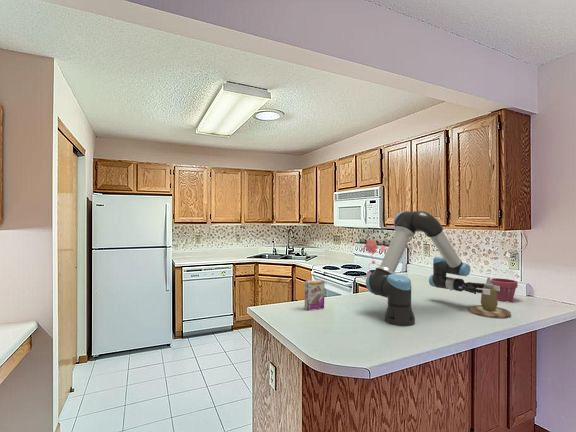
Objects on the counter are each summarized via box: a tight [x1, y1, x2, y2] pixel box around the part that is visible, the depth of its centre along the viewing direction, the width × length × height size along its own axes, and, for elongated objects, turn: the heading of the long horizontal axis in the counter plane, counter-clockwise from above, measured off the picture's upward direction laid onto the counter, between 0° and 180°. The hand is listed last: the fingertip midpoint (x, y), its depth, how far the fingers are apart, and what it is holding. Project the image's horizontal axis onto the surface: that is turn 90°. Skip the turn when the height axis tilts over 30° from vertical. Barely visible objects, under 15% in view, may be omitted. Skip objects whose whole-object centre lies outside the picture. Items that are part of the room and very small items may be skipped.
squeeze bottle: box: [480, 277, 499, 311], centre depth 178 cm, size 8×8×18 cm
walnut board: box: [468, 304, 512, 319], centre depth 178 cm, size 20×20×2 cm
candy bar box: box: [304, 279, 325, 311], centre depth 188 cm, size 11×5×16 cm, turn 110°
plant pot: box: [490, 277, 519, 302], centre depth 204 cm, size 14×14×13 cm
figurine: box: [360, 238, 387, 278], centre depth 274 cm, size 15×26×35 cm, turn 41°
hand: (494, 290), depth 175 cm, fingers open, 13 cm apart
